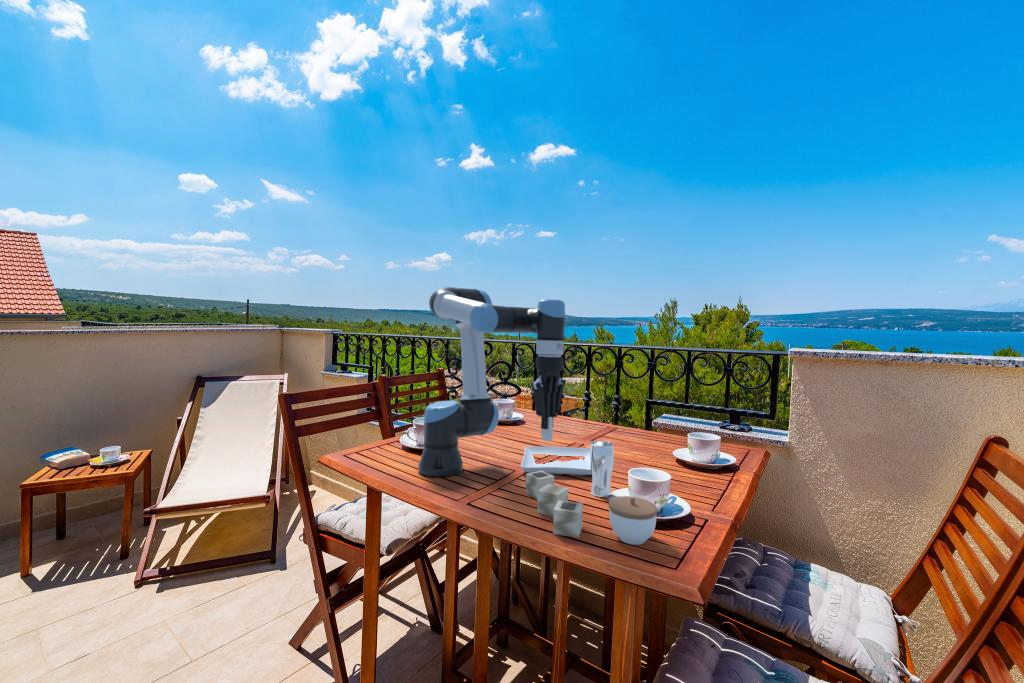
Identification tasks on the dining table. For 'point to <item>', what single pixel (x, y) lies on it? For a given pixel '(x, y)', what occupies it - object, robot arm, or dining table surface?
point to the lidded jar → (632, 519)
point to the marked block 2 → (567, 518)
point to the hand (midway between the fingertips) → (546, 439)
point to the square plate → (558, 467)
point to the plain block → (550, 498)
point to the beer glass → (601, 467)
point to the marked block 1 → (537, 482)
